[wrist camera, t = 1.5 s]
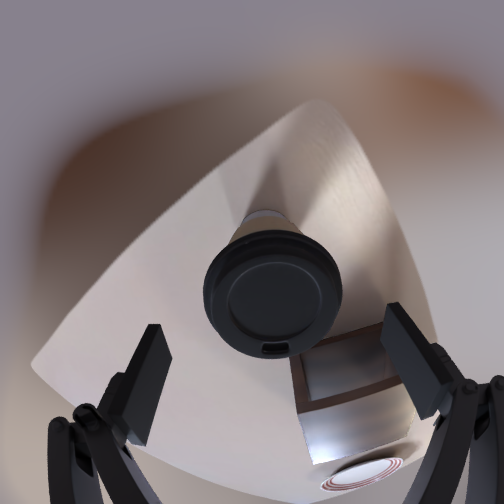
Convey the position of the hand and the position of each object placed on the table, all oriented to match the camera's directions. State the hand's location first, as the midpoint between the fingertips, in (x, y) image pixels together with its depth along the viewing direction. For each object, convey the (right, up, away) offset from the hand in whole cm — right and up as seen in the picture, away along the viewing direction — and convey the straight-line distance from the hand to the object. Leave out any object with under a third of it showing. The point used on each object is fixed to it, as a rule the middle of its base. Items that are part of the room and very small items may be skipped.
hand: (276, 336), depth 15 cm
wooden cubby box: (+14, -15, +24) cm, 32 cm away
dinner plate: (+33, -65, +45) cm, 86 cm away
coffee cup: (0, +7, +16) cm, 17 cm away
